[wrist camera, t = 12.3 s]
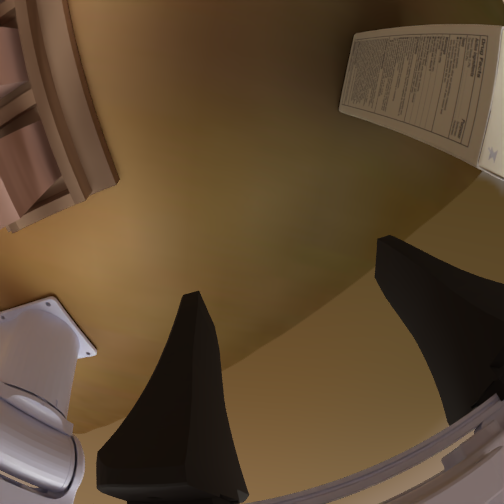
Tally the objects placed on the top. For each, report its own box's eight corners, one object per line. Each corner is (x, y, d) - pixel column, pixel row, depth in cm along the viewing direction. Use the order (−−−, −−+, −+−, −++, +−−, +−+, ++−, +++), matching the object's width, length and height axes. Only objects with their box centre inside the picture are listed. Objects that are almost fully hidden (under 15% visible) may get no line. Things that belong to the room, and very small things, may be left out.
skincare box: (385, 125, 19) (518, 195, 9) (333, 110, 18) (474, 173, 8) (402, 50, 16) (547, 75, 6) (351, 28, 15) (504, 22, 5)
